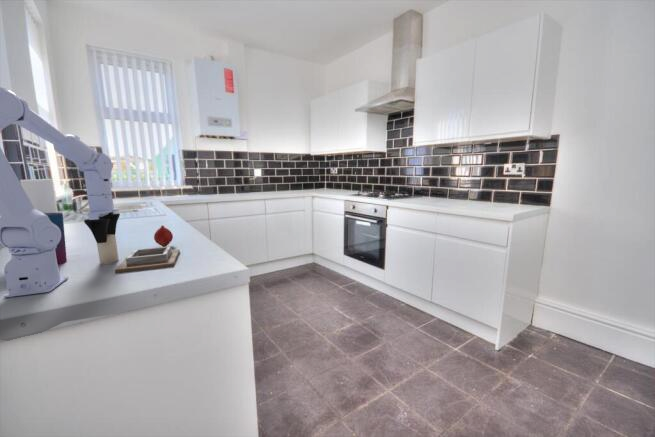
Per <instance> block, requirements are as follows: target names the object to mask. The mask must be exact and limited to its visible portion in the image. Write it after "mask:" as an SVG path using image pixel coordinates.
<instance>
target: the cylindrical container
mask: <svg viewBox="0 0 655 437" xmlns="http://www.w3.org/2000/svg"><path fill="white" fill-rule="evenodd" d="M19 182H20V183H21V185H22V187H23V189H24V191H25V192H26V194H27V196H28V198H29V199H30V201H31V203H32V205H33V207H34V208H35V209H37V210H38V211H40V212H42V213H59V211H58V203H57V199H56V198H57V197H56V192H55V188H54V181H53V178H43V179H41V178H39V179H34V178H33V179H20V180H19Z"/></svg>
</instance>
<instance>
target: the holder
mask: <svg viewBox="0 0 655 437" xmlns="http://www.w3.org/2000/svg"><path fill="white" fill-rule="evenodd" d="M179 252H180V253H181V250H180V249H179V248H177V249H172V246H170V245H169V246H168V245H167V246H166V247H163V246H160V247H149V248H137V249H134V250H133V251H132V252H131V253H130V254H129V255H128V256H127V257H126V258H125V259H124V260H123V261H122V262H121V263H119V265H118V266H117V267H116V268H114V272H115V273H114V274H120V273H128V272H138V271H144V270H154V269H163V268H171V267H173V268H174V266H175V263H176V261H177V260H178V257H179V255H180V253H179ZM176 259H177V260H176Z"/></svg>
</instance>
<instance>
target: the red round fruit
mask: <svg viewBox="0 0 655 437" xmlns="http://www.w3.org/2000/svg"><path fill="white" fill-rule="evenodd" d="M173 238H174V237H173V233H172V231H171V230H170V229H169V228H166V227H165V225H161V226H160V227H159V228H158V229H157V230H156V231H155V233H154V235H153V239H154V242H155V243H156V244H158V245H159V246H160V247H168V245H170V243H171V242H172V241H173Z"/></svg>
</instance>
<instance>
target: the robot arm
mask: <svg viewBox="0 0 655 437" xmlns="http://www.w3.org/2000/svg"><path fill="white" fill-rule="evenodd" d="M11 125H17V126H20V127H21V128H23V129H25V130H26V131H28V132H30V133H32V134H34V135H35V136H38V137H39V138H40V139H43V140H44V141H47V142H48V143H50V144H52V145H53V149H54V151H55V152H56V153H57V154H59V155H61V156H62V157H64V158H66V159H68V160H69V161H71V162H73V164H75V165H76V168H77V169H78V170H79V171H80V172H82V173H83V175H84V176H83V177H84V182H85V183H84V184H85V189H86V195H87V202H88V203H87V204H88V208H89V210H88V213H87V215H88V218H86V219H83V222H84V224H85V226H87V227H88V228H89V230H90V231H91V233H92V235H93V238H94V239H95V242H96V244H97V243H106V242H107V235H110V234H113V235H115V236H116V230H117V224H118V221H119V218H120V216H121V214H120V213H116V212H119V211H120V209H119V208H118V207H117V208H115V206H114V201H113V200H114V199H113V193H112V186H111V177H112V170H113V168H114V163H113V162H112V159H111V158H110V157H109V156H108V155H107V154H106V153H102V152H97V150H95V148H94V147H90V145H88V144H86V143H84V142H83V141H82V140H81V138H80V137H79V136H77V135H72V134H69V133H68V134H64V133H62V132H61V131H60V130H59V129H57V128H56V127H55V126H53V125H52V124H51V123H49V122H48V121H47V120H45V119H44V118H43V117H42V116H40V114H38V113H37V112H35V111H34V110H32V109H31V108H30V107H29V104H28V102H27V101H26V100H24V99H23V98H21V97H19V96H18V95H17V94H16V93H15V92H13V91H12V90H10V89H7V88H5V87H0V133H1V132H2V131H3V130H4V129H5V128H6V127H8V126H11ZM60 240H61V231H60V229H59V227H58V226H57V225H55V224H53V223H52V222H51V221H50V219H49V217H48V216H47V215H45V214H44V213H42V212H40V211H38V210H37V209H35V208H34V207H33V205H32V203H31V201H30V199H29V198H28V196H27V194H26V192H25V191H24V189H23V187H22V185H21V182H20V180H19V178H18V176H17V175H16V173H15V171H14V169H13V167H12V165H11V164H10V162H9V160H8V158H7V157H6V155H5V153H4V151H3V149H2V148H1V147H0V244H1V245H2V246H3V247H4V248H7V249H8V253H11V258H10V260H9V261H8V262H7V263H6V264H5V266H4V270H3V271H4V273H3V274H4V278H5V283H6V288H7V291H8V292H7V293H5V294H4V295H3V298H11V297H20V296H28V295H35V294H36V295H37V294H43V293H49V292H51V291H53V289H56V288H57V287H58V286H59V285H61V284H62V283H64V282H65V281H66V280H68V279H69V276H61V275H60V272H59V264H57V258H56V252H55V249H56V248H57V246H56V245H58V243H59V242H60Z"/></svg>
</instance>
